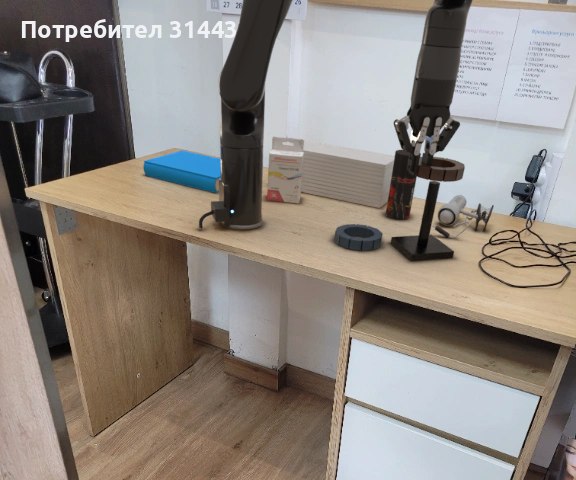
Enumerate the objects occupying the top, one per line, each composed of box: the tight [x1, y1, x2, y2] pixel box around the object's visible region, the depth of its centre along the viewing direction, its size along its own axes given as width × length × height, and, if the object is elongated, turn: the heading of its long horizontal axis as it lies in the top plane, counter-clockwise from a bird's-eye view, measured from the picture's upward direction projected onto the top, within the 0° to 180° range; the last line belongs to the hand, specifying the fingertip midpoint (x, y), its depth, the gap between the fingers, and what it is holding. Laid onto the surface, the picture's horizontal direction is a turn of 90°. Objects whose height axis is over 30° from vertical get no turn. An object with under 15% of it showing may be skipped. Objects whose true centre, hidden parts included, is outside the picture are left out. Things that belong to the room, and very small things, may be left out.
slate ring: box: [333, 223, 384, 252], centre depth 122 cm, size 10×10×2 cm
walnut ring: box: [415, 156, 466, 183], centre depth 110 cm, size 10×10×2 cm
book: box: [143, 149, 221, 194], centre depth 155 cm, size 17×4×25 cm
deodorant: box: [385, 149, 422, 221], centre depth 134 cm, size 6×6×15 cm
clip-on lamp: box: [431, 194, 495, 239], centre depth 131 cm, size 12×6×18 cm
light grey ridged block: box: [282, 139, 395, 209], centre depth 149 cm, size 32×11×11 cm, turn 63°
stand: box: [390, 180, 455, 262], centre depth 116 cm, size 10×10×14 cm
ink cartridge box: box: [266, 136, 305, 204], centre depth 140 cm, size 9×5×15 cm, turn 84°
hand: (417, 173), depth 110 cm, fingers closed on walnut ring, 2 cm apart
